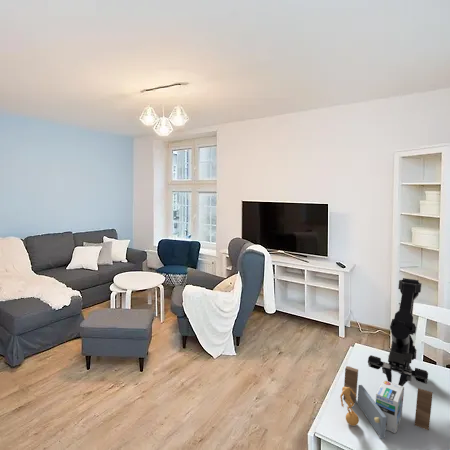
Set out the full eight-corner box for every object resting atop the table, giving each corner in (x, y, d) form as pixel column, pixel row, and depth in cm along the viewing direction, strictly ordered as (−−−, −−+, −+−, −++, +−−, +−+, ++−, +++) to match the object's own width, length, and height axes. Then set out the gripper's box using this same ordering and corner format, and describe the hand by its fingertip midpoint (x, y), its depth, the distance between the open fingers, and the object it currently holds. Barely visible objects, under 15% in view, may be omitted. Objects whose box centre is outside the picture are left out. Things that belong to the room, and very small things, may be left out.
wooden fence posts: (344, 396, 120) (346, 365, 118) (429, 426, 105) (432, 392, 104) (343, 399, 118) (345, 368, 117) (428, 430, 103) (432, 395, 102)
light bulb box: (396, 434, 102) (398, 402, 100) (373, 424, 106) (375, 394, 104) (402, 415, 110) (404, 386, 109) (380, 407, 114) (383, 378, 113)
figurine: (350, 433, 102) (352, 398, 100) (333, 422, 106) (335, 388, 105) (364, 422, 107) (366, 388, 105) (347, 412, 111) (349, 379, 110)
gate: (360, 403, 115) (361, 384, 114) (384, 438, 99) (386, 417, 99) (354, 403, 115) (355, 384, 114) (377, 438, 99) (379, 417, 98)
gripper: (370, 334, 119) (362, 377, 111) (430, 349, 109) (426, 397, 101) (372, 345, 126) (365, 386, 119) (429, 360, 116) (425, 406, 108)
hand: (393, 393), depth 112 cm, fingers closed
